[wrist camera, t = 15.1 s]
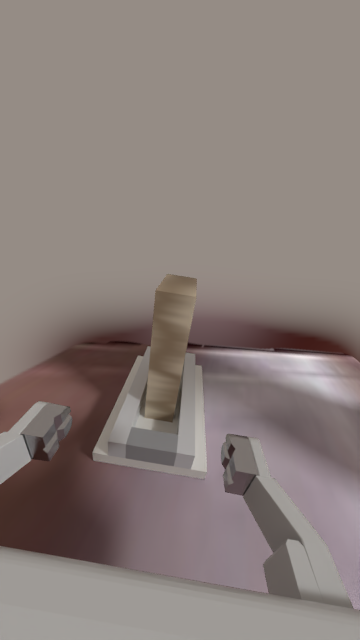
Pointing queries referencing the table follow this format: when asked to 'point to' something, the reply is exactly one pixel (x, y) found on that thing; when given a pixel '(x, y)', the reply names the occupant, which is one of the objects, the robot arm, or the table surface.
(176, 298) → the tan wooden block
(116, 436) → the floor track
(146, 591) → the robot arm
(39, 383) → the table surface
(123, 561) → the table surface
